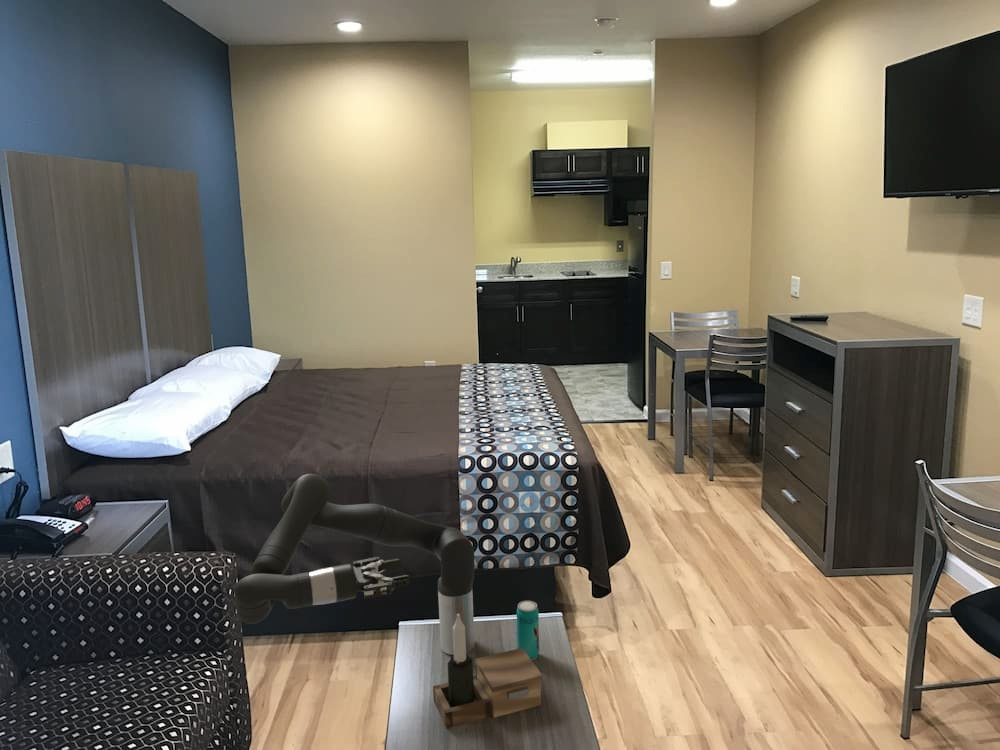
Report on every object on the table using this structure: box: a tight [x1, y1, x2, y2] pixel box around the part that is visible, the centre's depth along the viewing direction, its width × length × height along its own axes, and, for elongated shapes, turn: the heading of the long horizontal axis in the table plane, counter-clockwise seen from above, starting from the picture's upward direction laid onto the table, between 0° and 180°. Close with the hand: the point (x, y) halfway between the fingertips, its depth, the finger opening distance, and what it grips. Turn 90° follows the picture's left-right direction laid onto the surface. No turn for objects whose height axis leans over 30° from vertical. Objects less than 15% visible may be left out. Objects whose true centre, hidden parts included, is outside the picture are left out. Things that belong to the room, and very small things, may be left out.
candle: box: [447, 614, 475, 708], centre depth 183 cm, size 5×5×25 cm
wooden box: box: [432, 648, 543, 729], centre depth 187 cm, size 14×24×8 cm, turn 110°
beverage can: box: [516, 600, 540, 662], centre depth 205 cm, size 6×6×15 cm
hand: (405, 571), depth 174 cm, fingers open, 8 cm apart
